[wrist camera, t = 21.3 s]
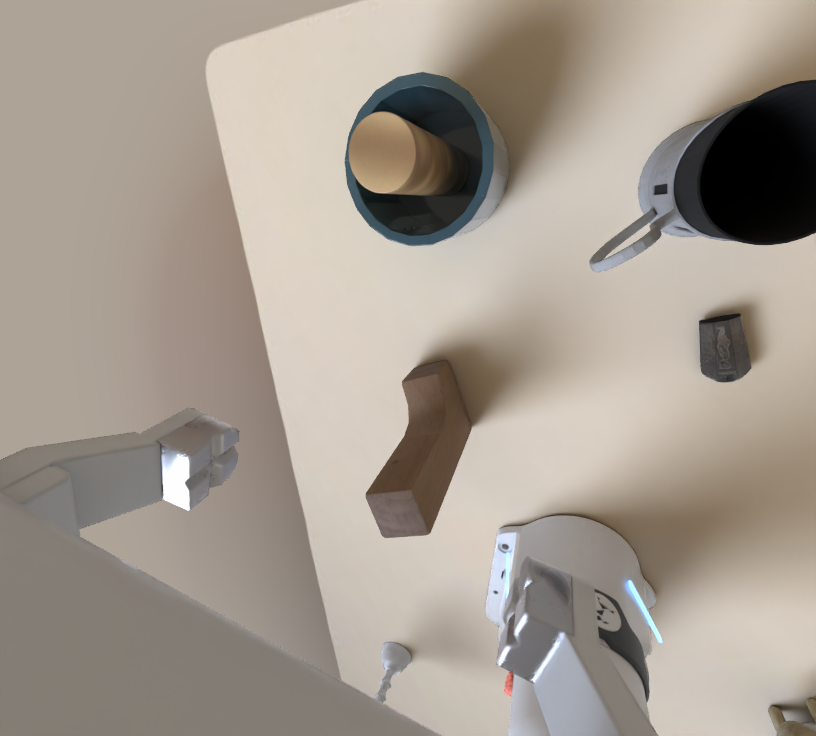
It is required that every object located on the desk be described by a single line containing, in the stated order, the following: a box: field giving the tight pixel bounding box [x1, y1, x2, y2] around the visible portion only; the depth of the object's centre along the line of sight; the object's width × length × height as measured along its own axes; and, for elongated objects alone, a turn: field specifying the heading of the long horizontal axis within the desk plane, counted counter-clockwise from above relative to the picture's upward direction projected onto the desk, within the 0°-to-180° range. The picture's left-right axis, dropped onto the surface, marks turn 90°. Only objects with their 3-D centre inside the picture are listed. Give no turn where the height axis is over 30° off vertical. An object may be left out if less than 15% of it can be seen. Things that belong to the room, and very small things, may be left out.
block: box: [699, 313, 751, 382], centre depth 37 cm, size 4×6×2 cm, turn 22°
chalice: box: [376, 642, 411, 703], centre depth 60 cm, size 7×7×18 cm
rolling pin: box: [349, 112, 469, 197], centre depth 32 cm, size 4×4×16 cm
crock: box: [345, 72, 509, 246], centre depth 36 cm, size 12×12×10 cm
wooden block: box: [366, 360, 471, 538], centre depth 41 cm, size 9×4×18 cm, turn 21°
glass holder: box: [590, 80, 816, 273], centre depth 29 cm, size 9×14×15 cm, turn 126°
